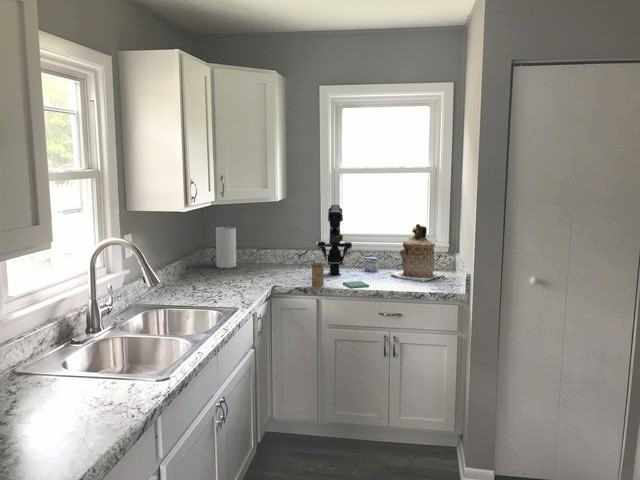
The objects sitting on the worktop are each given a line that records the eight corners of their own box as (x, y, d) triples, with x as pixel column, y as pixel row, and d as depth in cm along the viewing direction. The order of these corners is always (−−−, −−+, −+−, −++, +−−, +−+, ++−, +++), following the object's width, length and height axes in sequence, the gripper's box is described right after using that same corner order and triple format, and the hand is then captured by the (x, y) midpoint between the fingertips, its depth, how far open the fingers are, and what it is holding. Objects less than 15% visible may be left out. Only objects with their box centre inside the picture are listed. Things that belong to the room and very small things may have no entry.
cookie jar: (446, 276, 326) (448, 223, 322) (423, 283, 309) (425, 226, 304) (411, 270, 343) (413, 220, 339) (388, 276, 325) (389, 223, 321)
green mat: (342, 283, 304) (342, 282, 304) (360, 282, 308) (360, 280, 308) (350, 288, 294) (350, 286, 294) (369, 286, 298) (369, 285, 297)
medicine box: (364, 271, 340) (364, 257, 339) (366, 270, 344) (367, 256, 343) (376, 272, 336) (376, 258, 335) (378, 271, 340) (379, 257, 339)
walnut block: (314, 284, 301) (314, 262, 299) (323, 285, 300) (323, 263, 298) (311, 286, 296) (312, 264, 295) (320, 287, 295) (320, 264, 293)
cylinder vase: (213, 268, 346) (212, 228, 343) (220, 264, 359) (219, 226, 355) (232, 268, 344) (232, 229, 341) (238, 265, 357) (238, 227, 353)
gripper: (317, 229, 298) (317, 257, 294) (352, 229, 297) (351, 257, 294) (318, 234, 308) (317, 261, 305) (351, 234, 308) (351, 261, 304)
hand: (334, 260), depth 302 cm, fingers open, 9 cm apart
